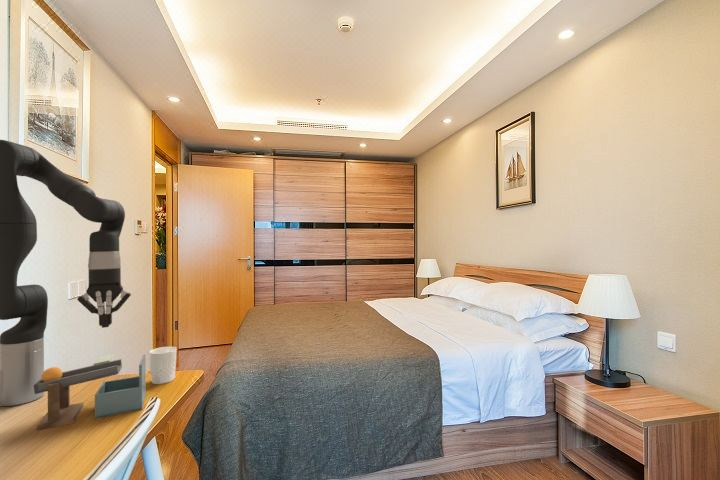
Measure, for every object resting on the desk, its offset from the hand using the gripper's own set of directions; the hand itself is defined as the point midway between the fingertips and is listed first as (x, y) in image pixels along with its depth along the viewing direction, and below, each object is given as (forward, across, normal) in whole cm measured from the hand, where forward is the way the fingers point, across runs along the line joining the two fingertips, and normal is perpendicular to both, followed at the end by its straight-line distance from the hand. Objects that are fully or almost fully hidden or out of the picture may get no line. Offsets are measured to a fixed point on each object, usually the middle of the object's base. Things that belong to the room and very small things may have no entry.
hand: (105, 326), depth 100 cm
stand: (+21, +9, +7) cm, 24 cm away
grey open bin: (+21, -5, +7) cm, 23 cm away
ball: (+10, +10, +8) cm, 16 cm away
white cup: (+21, -14, -9) cm, 27 cm away
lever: (+12, +4, +4) cm, 13 cm away
